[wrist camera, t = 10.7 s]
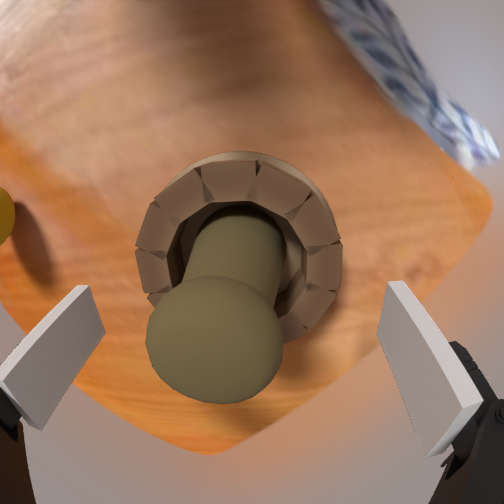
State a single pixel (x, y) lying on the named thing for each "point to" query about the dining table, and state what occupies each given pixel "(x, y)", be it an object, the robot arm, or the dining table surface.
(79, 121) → the dining table surface
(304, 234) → the collar
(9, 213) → the lemon
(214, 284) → the olive green knobbed peg
